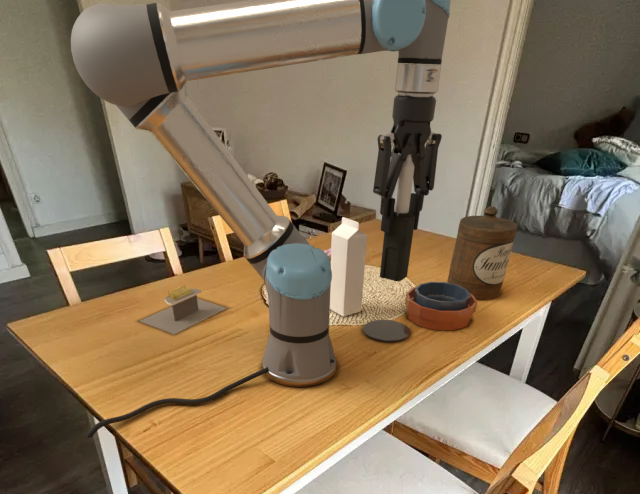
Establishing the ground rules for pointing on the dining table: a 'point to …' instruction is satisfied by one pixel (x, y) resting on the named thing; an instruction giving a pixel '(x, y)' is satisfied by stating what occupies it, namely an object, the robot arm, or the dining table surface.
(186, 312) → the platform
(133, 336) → the dining table surface
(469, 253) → the wooden container
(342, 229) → the milk
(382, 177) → the robot arm
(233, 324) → the dining table surface
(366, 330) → the slate coaster
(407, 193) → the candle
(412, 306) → the stacked bowls
